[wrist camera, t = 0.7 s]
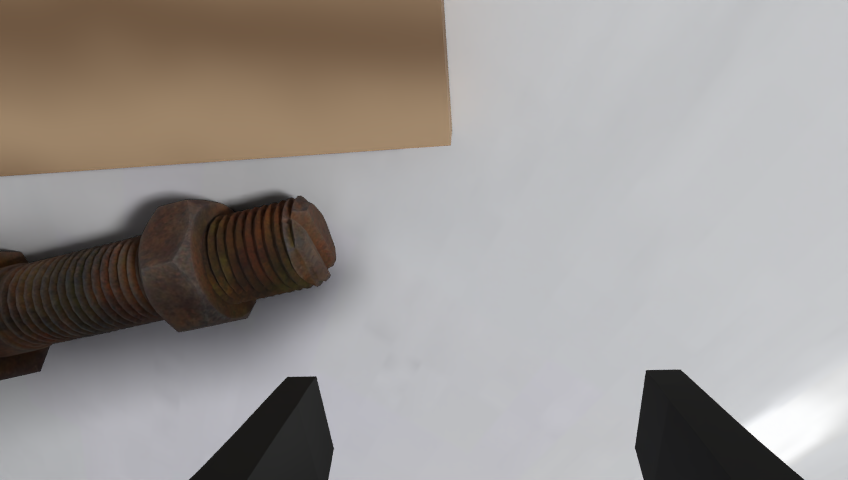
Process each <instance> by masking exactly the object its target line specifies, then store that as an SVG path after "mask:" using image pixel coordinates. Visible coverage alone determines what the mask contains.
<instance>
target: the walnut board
mask: <svg viewBox="0 0 848 480" xmlns="http://www.w3.org/2000/svg"><path fill="white" fill-rule="evenodd" d="M451 135H452V122H451V106H450V91H449V76H448V60H447V45H446V29H445V14H444V0H0V176H12V175H27V174H41V173H56V172H70V171H85V170H99V169H114V168H128V167H143V166H157V165H172V164H187V163H201V162H216V161H230V160H245V159H259V158H274V157H288V156H303V155H317V154H332V153H346V152H361V151H376V150H390V149H405V148H419V147H434V146H448V145H451Z"/></svg>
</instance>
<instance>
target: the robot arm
mask: <svg viewBox="0 0 848 480" xmlns="http://www.w3.org/2000/svg"><path fill="white" fill-rule="evenodd" d="M635 449H636V453H637V457H638V460H639V464H640V468H641V471H642V475H643V479H644V480H804V479H803V478H802V477H800V476H799V475H798V474H797V473H796V472H794V471H793V470H792V469H791V468H790V467H789V466H787V465H786V464H785V463H784V462H783V461H782V460H780V459H779V458H778V457H777V456H776V455H775V454H773V453H772V452H771V451H770V450H769V449H768V448H766V447H765V446H764V445H763V444H762V443H761V442H760V441H758V440H757V439H756V438H755V437H754V436H753V435H752V434H751V433H749V432H748V431H747V430H746V429H745V428H744V427H743V426H742V425H741V424H739V423H738V422H737V421H736V420H735V419H734V418H733V417H732V416H731V415H730V414H728V413H727V412H726V411H725V410H724V409H723V408H722V407H721V406H720V405H719V404H717V403H716V402H715V401H714V400H713V399H712V398H711V397H710V396H709V395H708V394H707V393H705V392H704V391H703V390H702V389H701V388H700V387H699V386H698V385H697V384H696V383H695V382H693V381H692V380H691V379H690V378H689V377H688V376H687V375H686V374H685V373H684V372H682V371H681V370H646V374H645V381H644V388H643V395H642V402H641V409H640V416H639V423H638V430H637V437H636V444H635ZM333 450H334V448H333V443H332V439H331V435H330V431H329V427H328V423H327V419H326V415H325V411H324V406H323V402H322V398H321V394H320V390H319V386H318V382H317V378H316V377H287V378H286V379H285V380H284V381H283V382H282V383H281V384H280V385H279V386H278V387H277V388H276V389H275V390H274V391H273V393H272V394H271V395H270V396H269V397H268V398H267V399H266V400H265V401H264V402H263V403H262V404H261V405H260V407H259V408H258V409H257V410H256V411H255V412H254V413H253V414H252V415H251V416H250V417H249V418H248V419H247V421H246V422H245V423H244V424H243V425H242V426H241V427H240V428H239V429H238V430H237V431H236V432H235V433H234V434H233V435H232V437H231V438H230V439H229V440H228V441H227V442H226V443H225V444H224V445H223V446H222V447H221V448H220V449H219V450H218V451H217V452H216V453H215V454H214V455H213V456H212V457H211V458H210V459H209V460H208V461H207V463H206V464H205V465H204V466H203V467H202V468H201V469H200V470H199V471H198V472H197V473H196V474H195V475H193V476H192V477H191V478H190V479H189V480H328V478H329V472H330V467H331V461H332V455H333Z"/></svg>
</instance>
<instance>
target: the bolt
mask: <svg viewBox="0 0 848 480" xmlns="http://www.w3.org/2000/svg"><path fill="white" fill-rule="evenodd" d="M335 261H336V252H335V246H334V243H333V240H332V238H331V235H330V232H329V229H328V226H327V224H326V221H325V219H324V217H323V215H322V214H321V212H320V211H319V210H318V209H317V208H316V207H315V205H313V204H312V203H310V202H308V201H307V200H306V199H305V198H304V197H302V196H298V197H297V198H296V199H294V198H289V199H288V200H287V201H286V200H282V201H280V202H279V203H277V202H275V203H272V204H270V205H263V206H262V207H254V208H253V209H247V210H243V211H237V212H236V213H235V212H234V211H233V210H231V209H230V208H229V207H227V206H226V205H224V204H221V203H218V202H213V201H207V200H188V199H187V200H183V201H179V202H175V203H171V204H167V205H163V206H159V207H158V208H157V210H156V211H155V213H154V214H153V216H152V217H151V219H150V220H149V222H148V223H147V225H146V227H145V229H144V231H143V234H142V235H140V236H136V237H133V238H129V239H125V240H122V241H118V242H115V243H110V244H104V245H102V246H96V247H93V248H89V249H85V250H81V251H77V252H72V253H69V254H65V255H61V256H56V257H52V258H48V259H45V260H40V261H35V262H32V263H28V261H27V260H26V258H25V257H24V255H23V254H22V253H21V252H10V251H0V380H3V379H8V378H13V377H17V376H22V375H26V374H31V373H35V372H40V371H41V369H42V366H43V363H44V361H45V358H46V355H47V353H48V350H49V347H50V345H52V344H55V343H59V342H65V341H69V340H73V339H77V338H82V337H88V336H93V335H98V334H103V333H108V332H112V331H117V330H119V329H125V328H130V327H133V326H139V325H142V324H148V323H151V322H156V321H161V320H165V321H166V322H167V323H168V324H170V325H171V326H172V327H173V328H174V329H175V330H176V331H178V332H182V331H188V330H193V329H198V328H203V327H208V326H213V325H218V324H223V323H227V322H232V321H237V320H242V319H246V318H248V316H249V314H250V312H251V310H252V308H253V306H254V305H255V303H256V300H257V299H259V298H265V297H268V296H274V295H277V294H278V295H279V294H283V293H286V292H292V291H295V290H301V289H303V288H307V289H308V288H311V287H312V286H313V285H314V286H317V287H318V286H320V285H321V284H322V283H323V281H326V280H328V279H329V278H330V273H329V271H328V268H330V267H332V266H333V265H334V263H335Z"/></svg>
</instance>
